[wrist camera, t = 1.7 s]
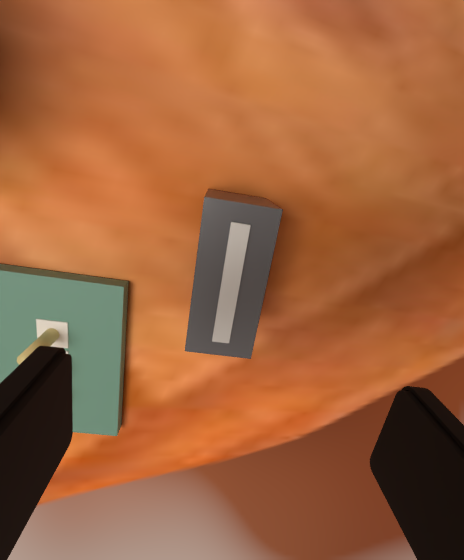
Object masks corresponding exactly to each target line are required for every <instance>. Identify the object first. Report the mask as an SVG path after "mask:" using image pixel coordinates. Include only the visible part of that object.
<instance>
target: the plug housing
mask: <svg viewBox="0 0 464 560" xmlns="http://www.w3.org/2000/svg"><path fill="white" fill-rule="evenodd" d="M282 211H283V209H281V208H280V207H278V206H277V205H275V204H274V203H272V202H271V201H269V200H268V199H266V198H261V197H255V196H249V195H243V194H237V193H231V192H225V191H219V190H213V189H208V191H207V193H206V195H205V197H204V204H203V212H202V220H201V228H200V236H199V244H198V251H197V259H196V267H195V275H194V283H193V291H192V298H191V306H190V314H189V322H188V330H187V338H186V345H185V351H188V352H197V353H205V354H214V355H223V356H231V357H240V358H248V359H251V355H252V351H253V346H254V341H255V337H256V332H257V327H258V323H259V318H260V313H261V309H262V304H263V299H264V295H265V290H266V286H267V281H268V276H269V272H270V267H271V262H272V258H273V253H274V248H275V244H276V239H277V234H278V230H279V225H280V220H281V216H282Z"/></svg>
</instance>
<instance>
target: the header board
mask: <svg viewBox="0 0 464 560" xmlns="http://www.w3.org/2000/svg"><path fill="white" fill-rule="evenodd" d="M128 283H129V281H125V280H117V279H110V278H103V277H95V276H88V275H80V274H73V273H65V272H58V271H51V270H43V269H36V268H28V267H21V266H14V265H6V264H0V383H1V382H2V381H3V380H4V379H5V378H6V377H7V376H8V375H9V374H10V373H11V372H12V371H14V370H15V369H16V368H17V367H18V366H19V365H20V364H21V363H22V362H23V361H24V360H25V359H26V358H27V357H28V356H29V355H30V354H31V353H32V352H33V351H34V350H35V349H36V348H37V347H39V346H51V347H60V348H64V349H65V351H66V354H70V355H71V356H72V411H73V432H78V433H89V434H101V435H112V436H117V435H118V432H119V430H120V427H121V422H122V402H123V382H124V362H125V342H126V322H127V303H128Z"/></svg>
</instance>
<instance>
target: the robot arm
mask: <svg viewBox="0 0 464 560" xmlns="http://www.w3.org/2000/svg"><path fill="white" fill-rule="evenodd" d="M72 434H73V411H72V356H71V355H70V354H66V351H65V349H64V348H60V347H51V346H39V347H37V348H36V349H35V350H34V351H33V352H32V353H31V354H30V355H29V356H28V357H27V358H26V359H25V360H24V361H23V362H22V363H21V364H20V365H19V366H18V367H17V368H16V369H15V370H14V371H12V372H11V373H10V374H9V375H8V376H7V377H6V378H5V379H4V380H3V381H2V382H1V383H0V560H7V559H8V557H9V555H10V553H11V551H12V550H13V548H14V546H15V544H16V542H17V540H18V538H19V537H20V535H21V533H22V531H23V529H24V527H25V526H26V524H27V522H28V520H29V518H30V516H31V514H32V513H33V511H34V509H35V507H36V505H37V504H38V502H39V500H40V498H41V496H42V494H43V493H44V491H45V489H46V487H47V485H48V483H49V482H50V480H51V478H52V476H53V474H54V472H55V471H56V469H57V467H58V465H59V463H60V461H61V459H62V458H63V456H64V454H65V452H66V450H67V448H68V446H69V444H70V442H71V438H72ZM370 467H371V470H372V472H373V475H374V476H375V478H376V480H377V482H378V484H379V486H380V488H381V490H382V492H383V494H384V496H385V498H386V499H387V502H388V504H389V506H390V508H391V509H392V511H393V513H394V515H395V517H396V519H397V521H398V523H399V525H400V527H401V529H402V531H403V533H404V535H405V537H406V538H407V540H408V542H409V544H410V546H411V548H412V550H413V552H414V554H415V556H416V558H417V560H464V425H463V424H462V423H461V422H460V421H459V420H458V419H457V418H456V417H455V416H454V415H453V414H452V413H451V412H450V411H449V410H448V409H447V408H446V407H445V406H444V405H443V404H442V403H441V402H440V401H439V399H437V398H436V396H435V395H434V394H433V393H432V392H431V391H430V390H428V389H426V388H420V387H410V386H406V387H404V388H402V390H401V391H398V392H397V394H396V396H395V398H394V401H393V403H392V406H391V408H390V411H389V413H388V416H387V418H386V420H385V423H384V425H383V428H382V430H381V433H380V435H379V438H378V440H377V442H376V445H375V447H374V450H373V452H372V455H371V458H370Z"/></svg>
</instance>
